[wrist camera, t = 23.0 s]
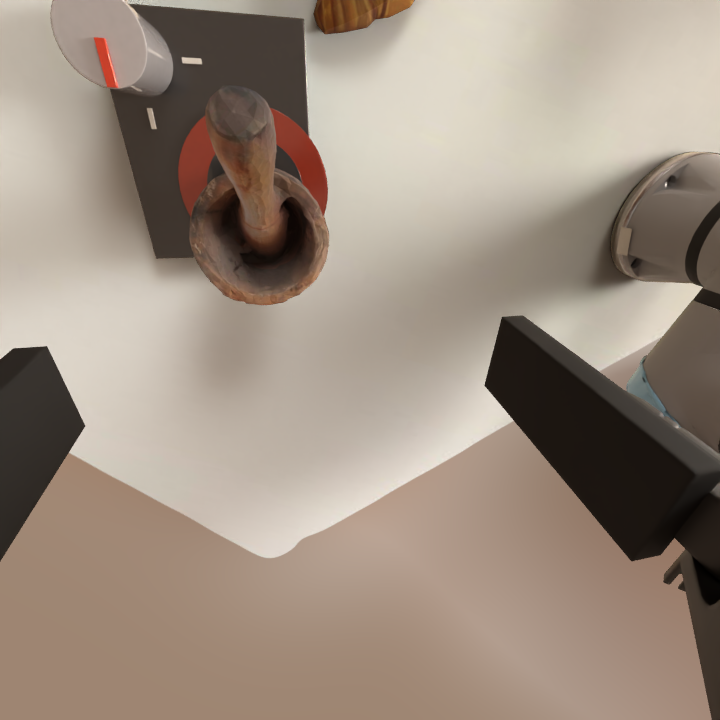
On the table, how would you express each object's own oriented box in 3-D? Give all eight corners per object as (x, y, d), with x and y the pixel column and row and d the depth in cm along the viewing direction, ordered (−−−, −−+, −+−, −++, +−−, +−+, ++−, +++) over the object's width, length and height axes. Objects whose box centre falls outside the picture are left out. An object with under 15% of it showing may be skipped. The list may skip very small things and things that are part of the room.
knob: (90, 11, 26) (31, -28, 19) (164, 17, 27) (131, -18, 20) (112, 95, 28) (67, 86, 22) (179, 98, 29) (155, 90, 23)
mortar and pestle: (172, 138, 30) (59, 152, 14) (269, 96, 30) (273, 58, 14) (244, 266, 37) (226, 379, 20) (323, 231, 37) (371, 317, 20)
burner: (325, 106, 31) (326, 106, 31) (328, 257, 38) (329, 258, 38) (161, 99, 29) (160, 99, 29) (196, 262, 36) (195, 263, 36)
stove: (300, 1, 30) (303, -10, 27) (311, 246, 40) (314, 253, 38) (60, -22, 26) (42, -35, 24) (140, 252, 37) (132, 260, 34)
